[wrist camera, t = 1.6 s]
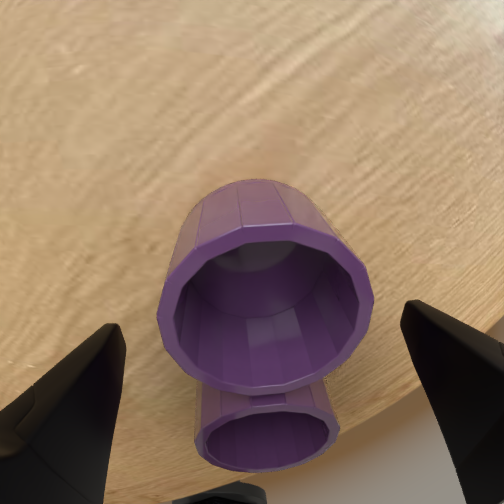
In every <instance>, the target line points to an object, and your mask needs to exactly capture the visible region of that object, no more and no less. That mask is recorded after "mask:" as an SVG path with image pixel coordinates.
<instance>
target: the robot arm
mask: <svg viewBox="0 0 504 504" xmlns="http://www.w3.org/2000/svg"><path fill="white" fill-rule="evenodd" d="M400 327H401V330H402V333H403V336H404V339H405V342H406V344H407V347H408V350H409V353H410V356H411V359H412V362H413V365H414V367H415V370H416V372H417V374H418V376H419V379H420V381H421V383H422V385H423V388H424V390H425V392H426V395H427V397H428V399H429V402H430V404H431V406H432V409H433V411H434V414H435V416H436V419H437V421H438V424H439V426H440V429H441V431H442V434H443V436H444V439H445V442H446V444H447V447H448V450H449V452H450V455H451V458H452V461H453V464H454V466H455V468H456V473H457V476H458V478H459V482H460V485H461V488H462V491H463V494H464V497H465V500H466V503H467V504H502V503H503V502H504V344H503V343H501V342H498V341H497V340H496V339H494V338H492V337H490V336H488V335H486V334H484V333H482V332H480V331H479V330H477V329H475V328H473V327H471V326H469V325H467V324H465V323H463V322H461V321H459V320H457V319H455V318H453V317H451V316H449V315H448V314H446V313H444V312H442V311H440V310H438V309H436V308H434V307H432V306H430V305H428V304H426V303H424V302H422V301H420V300H410V301H407V302H406V303H405V306H404V310H403V313H402V317H401V321H400ZM125 357H126V343H125V340H124V338H123V335H122V332H121V329H120V326H119V325H118V324H116V323H107V324H105V325H103V326H102V327H101V328H100V329H98V330H97V331H96V332H95V333H93V334H92V335H91V336H90V337H89V338H87V339H86V340H85V341H84V342H83V343H81V344H80V345H79V346H78V347H77V348H75V349H74V350H73V351H72V352H71V353H69V354H68V355H67V356H66V357H65V358H63V359H62V360H61V361H60V362H59V363H58V364H56V365H55V366H54V367H53V368H52V369H50V370H49V371H48V372H47V373H46V374H45V375H43V376H42V377H41V378H40V379H39V380H38V381H36V382H35V383H34V384H33V386H31V387H29V388H28V389H27V390H26V391H25V392H24V393H22V394H21V395H20V396H19V397H18V398H16V399H15V400H14V401H13V402H12V403H10V404H9V405H8V406H6V407H5V408H4V409H2V410H1V411H0V504H103V499H104V491H105V484H106V477H107V470H108V464H109V458H110V452H111V446H112V440H113V434H114V429H115V424H116V419H117V414H118V409H119V404H120V399H121V393H122V386H123V376H124V366H125ZM191 504H250V503H245V502H240V501H235V500H231V499H226V498H222V497H218V496H213V497H210V498H207V499H204V500H201V501H198V502H195V503H191Z"/></svg>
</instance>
